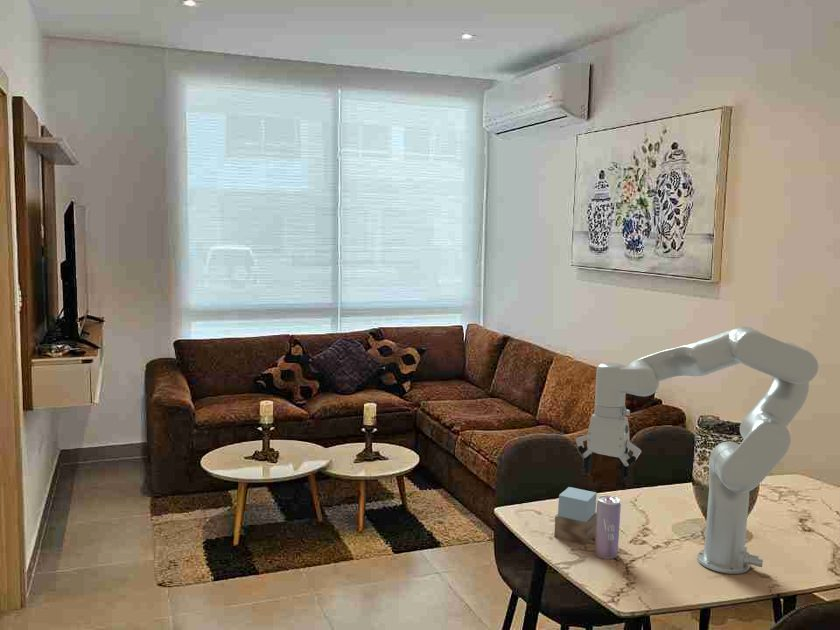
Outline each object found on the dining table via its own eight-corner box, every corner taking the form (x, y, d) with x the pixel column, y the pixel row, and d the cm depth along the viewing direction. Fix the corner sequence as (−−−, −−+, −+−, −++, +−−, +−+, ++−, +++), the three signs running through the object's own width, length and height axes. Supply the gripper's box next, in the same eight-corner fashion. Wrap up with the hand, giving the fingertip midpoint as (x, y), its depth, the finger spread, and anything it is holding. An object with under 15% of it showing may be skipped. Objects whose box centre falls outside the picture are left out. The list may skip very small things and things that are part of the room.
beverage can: (615, 550, 203) (619, 496, 201) (619, 560, 197) (622, 504, 195) (592, 549, 204) (595, 494, 202) (595, 558, 198) (598, 502, 196)
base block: (596, 533, 214) (597, 512, 214) (586, 544, 207) (587, 523, 206) (565, 526, 219) (566, 506, 218) (554, 537, 211) (555, 516, 210)
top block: (595, 513, 213) (596, 492, 212) (586, 522, 206) (587, 501, 206) (567, 507, 217) (569, 486, 216) (557, 516, 210) (559, 495, 210)
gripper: (647, 413, 195) (643, 478, 198) (583, 403, 205) (580, 465, 207) (637, 419, 189) (633, 486, 191) (572, 408, 199) (569, 472, 201)
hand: (606, 475), depth 199 cm, fingers open, 9 cm apart
